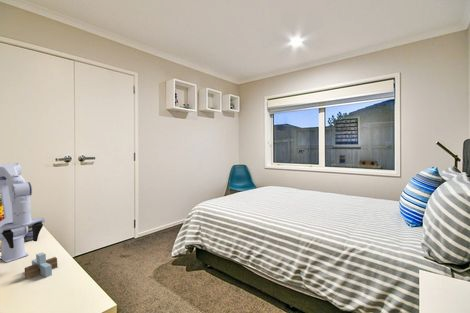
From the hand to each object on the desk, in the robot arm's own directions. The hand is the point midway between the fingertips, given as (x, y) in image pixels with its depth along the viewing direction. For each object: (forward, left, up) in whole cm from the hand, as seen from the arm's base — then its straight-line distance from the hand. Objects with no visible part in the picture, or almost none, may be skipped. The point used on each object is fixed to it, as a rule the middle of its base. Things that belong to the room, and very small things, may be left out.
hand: (23, 244), depth 96 cm
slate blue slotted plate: (+10, +2, -10) cm, 14 cm away
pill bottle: (-38, +14, -11) cm, 42 cm away
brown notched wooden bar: (+10, +2, -10) cm, 15 cm away
